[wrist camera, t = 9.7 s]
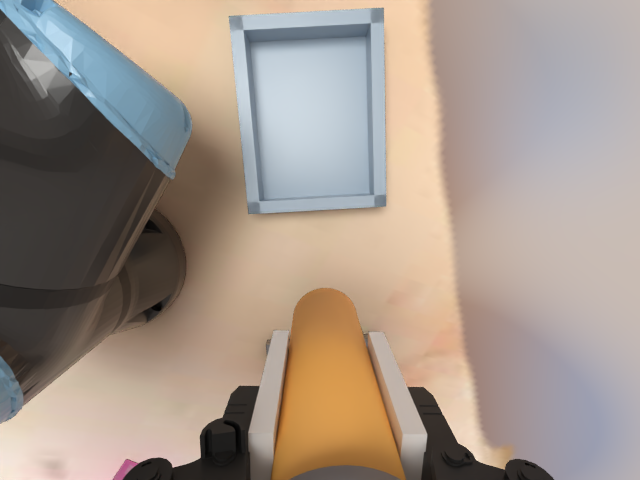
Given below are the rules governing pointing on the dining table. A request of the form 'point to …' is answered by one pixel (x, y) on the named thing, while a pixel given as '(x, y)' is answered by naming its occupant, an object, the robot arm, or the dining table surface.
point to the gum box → (124, 469)
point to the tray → (311, 109)
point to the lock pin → (332, 399)
